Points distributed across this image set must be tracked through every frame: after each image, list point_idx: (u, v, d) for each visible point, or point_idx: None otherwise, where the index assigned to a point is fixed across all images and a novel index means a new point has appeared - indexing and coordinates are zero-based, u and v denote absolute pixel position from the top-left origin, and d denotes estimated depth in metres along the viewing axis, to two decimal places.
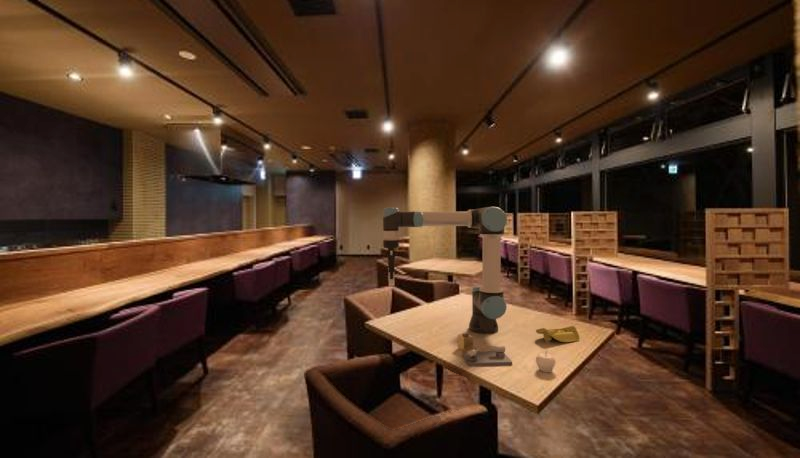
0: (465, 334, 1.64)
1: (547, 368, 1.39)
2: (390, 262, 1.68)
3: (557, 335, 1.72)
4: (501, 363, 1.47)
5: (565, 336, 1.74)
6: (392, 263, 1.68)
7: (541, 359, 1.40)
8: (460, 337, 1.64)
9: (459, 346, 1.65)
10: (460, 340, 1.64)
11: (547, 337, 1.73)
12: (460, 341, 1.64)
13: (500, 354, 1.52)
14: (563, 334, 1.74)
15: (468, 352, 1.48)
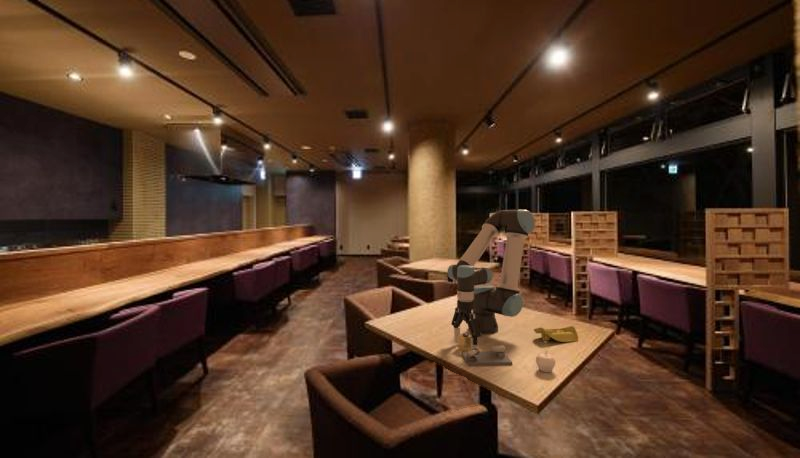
0: (465, 334, 1.64)
1: (547, 368, 1.39)
2: (475, 327, 1.56)
3: (555, 335, 1.73)
4: (501, 363, 1.47)
5: (563, 336, 1.74)
6: (477, 328, 1.56)
7: (541, 359, 1.40)
8: (460, 337, 1.64)
9: (459, 346, 1.65)
10: (460, 340, 1.64)
11: (545, 336, 1.74)
12: (460, 341, 1.64)
13: (500, 354, 1.52)
14: (561, 334, 1.74)
15: (468, 352, 1.48)
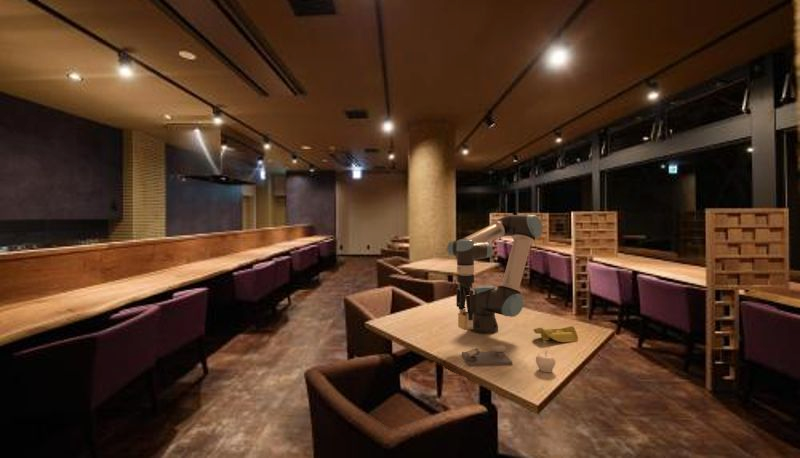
0: (465, 312, 1.64)
1: (547, 368, 1.39)
2: (472, 303, 1.58)
3: (554, 335, 1.73)
4: (501, 363, 1.47)
5: (563, 336, 1.74)
6: (474, 304, 1.58)
7: (541, 359, 1.40)
8: (460, 315, 1.64)
9: (459, 324, 1.64)
10: (460, 318, 1.64)
11: (544, 337, 1.74)
12: (460, 319, 1.64)
13: (500, 354, 1.52)
14: (561, 334, 1.74)
15: (468, 352, 1.48)
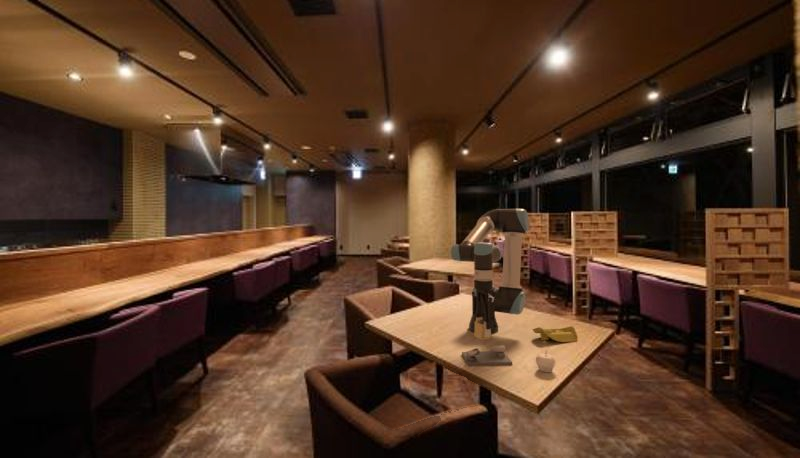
0: (482, 320, 1.53)
1: (547, 368, 1.39)
2: (491, 311, 1.47)
3: (553, 335, 1.73)
4: (501, 363, 1.47)
5: (562, 336, 1.74)
6: (493, 312, 1.48)
7: (541, 359, 1.40)
8: (477, 324, 1.53)
9: (475, 333, 1.53)
10: (477, 327, 1.53)
11: (544, 336, 1.74)
12: (477, 328, 1.53)
13: (500, 354, 1.52)
14: (560, 334, 1.74)
15: (468, 352, 1.48)
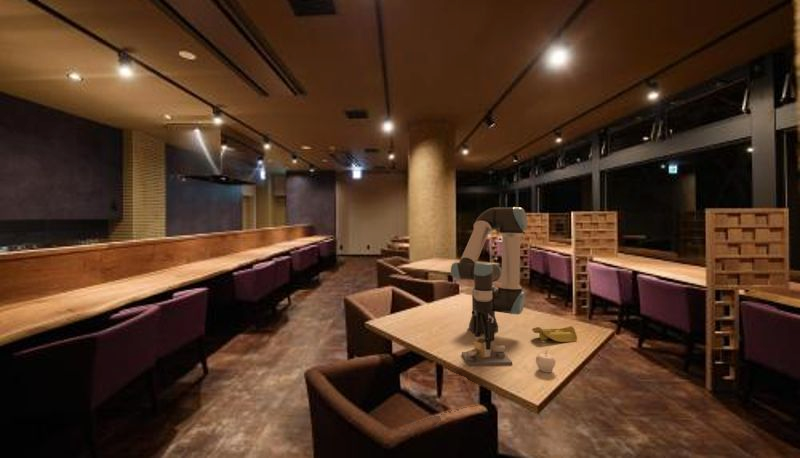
0: (482, 339, 1.53)
1: (547, 368, 1.39)
2: (490, 332, 1.47)
3: (552, 335, 1.73)
4: (501, 363, 1.47)
5: (561, 336, 1.74)
6: (492, 333, 1.48)
7: (541, 359, 1.40)
8: (477, 343, 1.53)
9: None
10: (476, 346, 1.53)
11: (543, 336, 1.75)
12: (477, 347, 1.53)
13: (500, 354, 1.52)
14: (559, 334, 1.75)
15: (468, 352, 1.48)
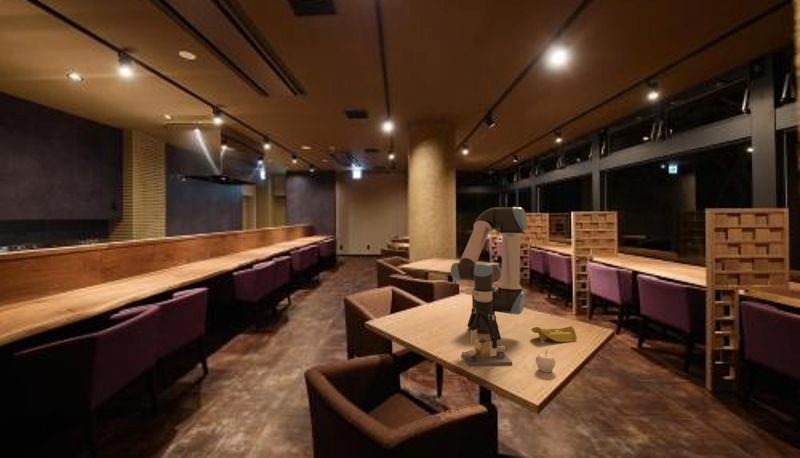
0: (482, 339, 1.53)
1: (547, 368, 1.39)
2: (494, 329, 1.45)
3: (551, 335, 1.73)
4: (501, 363, 1.47)
5: (561, 336, 1.74)
6: (497, 330, 1.45)
7: (541, 359, 1.40)
8: (477, 343, 1.53)
9: None
10: (476, 346, 1.53)
11: (542, 336, 1.75)
12: (477, 347, 1.53)
13: (500, 354, 1.52)
14: (559, 334, 1.75)
15: (468, 352, 1.48)
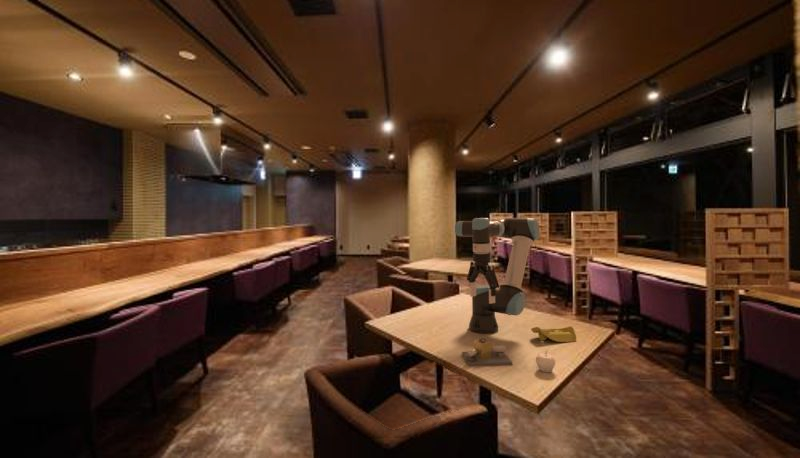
0: (482, 339, 1.53)
1: (547, 368, 1.39)
2: (493, 278, 1.55)
3: (551, 335, 1.73)
4: (501, 363, 1.47)
5: (560, 336, 1.74)
6: (495, 279, 1.55)
7: (541, 359, 1.40)
8: (477, 343, 1.53)
9: None
10: (476, 346, 1.53)
11: (541, 336, 1.75)
12: (477, 347, 1.53)
13: (500, 354, 1.52)
14: (558, 334, 1.75)
15: (468, 352, 1.48)
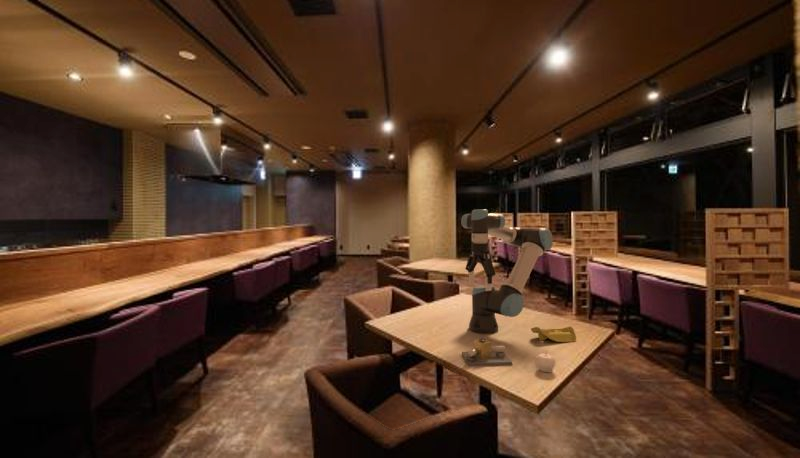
0: (482, 339, 1.53)
1: (547, 368, 1.39)
2: (490, 266, 1.61)
3: (551, 335, 1.73)
4: (501, 363, 1.47)
5: (560, 336, 1.74)
6: (492, 267, 1.62)
7: (541, 359, 1.40)
8: (477, 343, 1.53)
9: None
10: (476, 346, 1.53)
11: (541, 336, 1.75)
12: (477, 347, 1.53)
13: (500, 354, 1.52)
14: (558, 334, 1.74)
15: (468, 352, 1.48)
